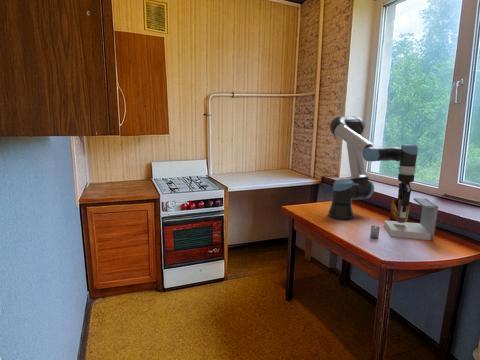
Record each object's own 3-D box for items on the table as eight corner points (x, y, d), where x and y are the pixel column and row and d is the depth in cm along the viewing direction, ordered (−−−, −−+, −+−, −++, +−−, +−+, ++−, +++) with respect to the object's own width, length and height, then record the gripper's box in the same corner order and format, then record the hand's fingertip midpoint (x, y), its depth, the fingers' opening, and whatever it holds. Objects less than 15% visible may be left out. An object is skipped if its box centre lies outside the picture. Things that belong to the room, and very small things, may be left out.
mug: (402, 226, 173) (404, 206, 171) (386, 218, 187) (388, 200, 184) (416, 225, 175) (419, 205, 173) (399, 217, 189) (401, 199, 186)
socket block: (383, 226, 173) (387, 196, 169) (422, 229, 168) (426, 198, 165) (390, 236, 157) (394, 203, 154) (433, 240, 153) (438, 206, 149)
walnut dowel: (395, 220, 165) (398, 199, 162) (403, 220, 164) (406, 199, 161) (397, 222, 161) (400, 201, 158) (405, 223, 160) (408, 201, 158)
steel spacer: (369, 235, 158) (370, 225, 157) (377, 236, 157) (378, 225, 156) (370, 238, 154) (372, 227, 153) (379, 239, 153) (380, 228, 152)
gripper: (394, 170, 166) (390, 211, 171) (403, 176, 150) (398, 220, 154) (409, 171, 164) (404, 212, 169) (419, 176, 148) (414, 221, 153)
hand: (401, 216), depth 162 cm, fingers closed on walnut dowel, 4 cm apart
